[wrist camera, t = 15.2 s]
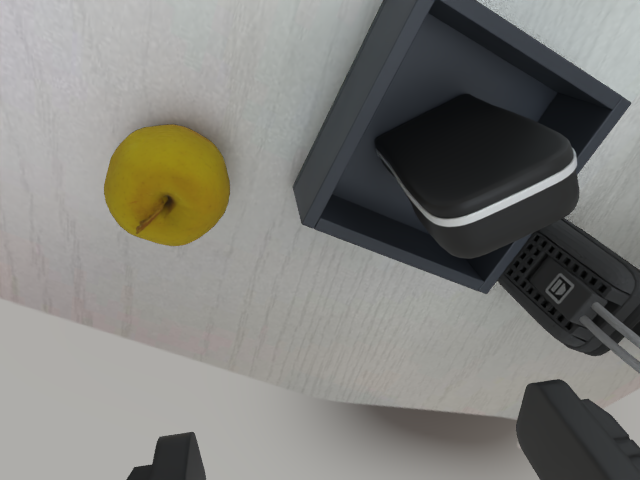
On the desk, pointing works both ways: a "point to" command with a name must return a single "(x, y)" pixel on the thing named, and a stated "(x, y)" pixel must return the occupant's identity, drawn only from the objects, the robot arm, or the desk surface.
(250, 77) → the desk surface
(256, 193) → the desk surface
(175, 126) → the apple
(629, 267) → the headphones
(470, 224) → the battery charger
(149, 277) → the desk surface
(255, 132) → the desk surface
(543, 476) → the robot arm
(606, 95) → the bin
